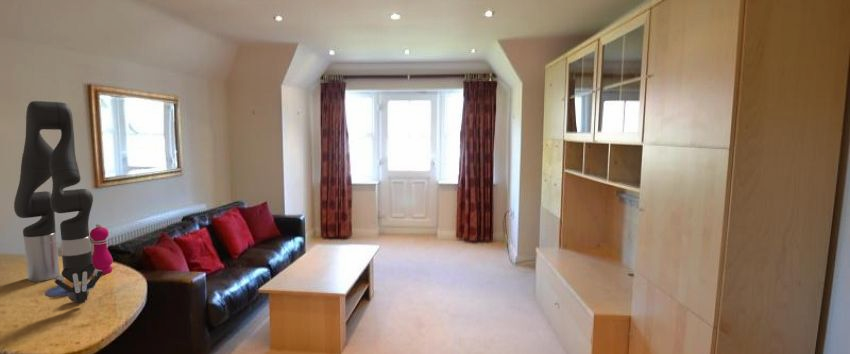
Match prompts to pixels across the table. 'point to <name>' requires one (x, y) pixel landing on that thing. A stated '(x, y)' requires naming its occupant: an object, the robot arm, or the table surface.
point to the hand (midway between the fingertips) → (81, 302)
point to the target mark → (58, 291)
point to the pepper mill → (101, 249)
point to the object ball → (70, 283)
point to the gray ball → (72, 295)
